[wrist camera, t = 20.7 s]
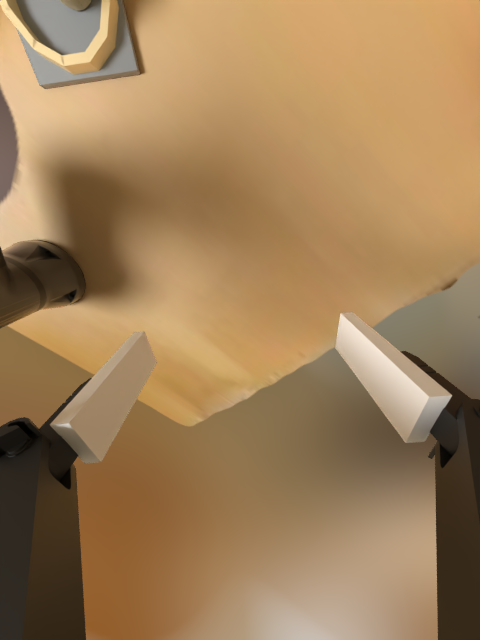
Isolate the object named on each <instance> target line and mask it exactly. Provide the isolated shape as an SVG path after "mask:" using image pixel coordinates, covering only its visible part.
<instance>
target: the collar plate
mask: <svg viewBox="0 0 480 640" xmlns="http://www.w3.org/2000/svg"><path fill="white" fill-rule="evenodd" d="M0 5H1V7H2V9H3V12H4V13H5V14H6V15H7V17H8V18H9V19H10V20H11V22H12V23H13V24H14V25H15V27H16V29H17V31H18V34H19V36H20V38H21V41H22V43H23V46H24V48H25V51H26V53H27V56H28V58H29V61H30V63H31V65H32V68H33V70H34V73H35V75H36V78H37V80H38V83H39V85H40V86H42V87H43V88H45V89H48V88H54V87H61V86H67V85H74V84H80V83H87V82H93V81H100V80H106V79H113V78H119V77H126V76H132V75H139V74H140V71H139V67H138V62H137V58H136V54H135V50H134V45H133V41H132V37H131V32H130V28H129V24H128V20H127V15H126V11H125V7H124V3H123V0H91V2H90V4H89V5H88V7H87V8H85V9H84V10H81V11H77V10H74V9H71V8H69V7H67V6H66V5H64V4H63V3H62V2H61V1H60V0H0Z"/></svg>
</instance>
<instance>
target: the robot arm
mask: <svg viewBox="0 0 480 640" xmlns="http://www.w3.org/2000/svg"><path fill="white" fill-rule="evenodd" d="M84 291H85V280H84V276H83V273H82V271H81V269H80V268H79V266H78V265H77V263H76V262H75V261H74V260H73V259H72V257H71V256H69V255H68V254H67V253H66V252H65V251H63V250H62V249H60V248H59V247H57V246H55V245H53V244H51V243H48V242H45V241H39V240H31V241H23V242H18V243H15V244H13V245H11V246H10V247H8V248H6V249H5V250H3V251H2V250H1V247H0V328H2V327H5V326H7V325H9V324H11V323H13V322H15V321H17V320H19V319H21V318H23V317H26V316H28V315H30V314H32V313H34V312H36V311H38V310H41V309H49V308H57V307H64V306H67V305H70V304H72V303H74V302H76V301H77V300H79V299H80V298H81V297H82V295H83V293H84ZM335 348H336V349H337V351H338V352H339V353H340V355H341V356H342V357H343V358H344V360H345V361H346V363H347V364H348V366H349V367H350V368H351V370H352V371H353V372H354V374H355V375H356V376H357V378H358V379H359V380H360V382H361V383H362V384H363V386H364V387H365V389H366V390H367V391H368V392H369V394H370V395H371V397H372V398H373V399H374V401H375V402H376V403H377V405H378V406H379V407H380V409H381V410H382V411H383V413H384V414H385V415H386V417H387V418H388V420H389V421H390V422H391V423H392V425H393V426H394V428H395V429H396V430H397V432H398V433H399V435H400V436H401V437H402V439H403V440H404V441H405V443H410V442H425V440H426V439H427V437H428V435H429V433H431V434H432V435H433V436H434V437H435V438H436V440H437V443H436V444H435V446H434V447H433V449H432V450H431V452H430V454H429V456H428V457H429V458H431V459H432V458H433V456H434V455H435V476H436V477H435V479H436V537H437V539H436V543H437V604H438V605H437V606H438V640H480V400H478V399H471V398H469V397H468V396H467V395H465V394H464V393H463V392H462V391H460V390H459V389H458V388H457V387H455V386H454V385H453V384H451V383H450V382H449V381H448V380H446V379H445V378H444V377H442V376H441V375H440V374H439V373H436V371H435V370H433V369H432V368H431V367H428V365H427V364H426V363H424V362H423V361H422V360H421V359H420V358H418V357H416V356H414V355H412V354H410V353H408V352H406V351H402V352H400V351H399V350H397V349H396V348H395V347H394V346H392V345H391V344H390V343H389V342H388V341H387V340H385V339H384V338H383V337H382V336H380V335H379V334H378V333H377V332H376V331H375V330H374V329H372V328H371V327H370V326H369V325H368V324H366V323H365V322H364V321H363V320H362V319H360V318H359V317H358V316H357V315H356V314H354V313H353V312H347V313H341V314H340V320H339V326H338V332H337V339H336V345H335ZM156 363H157V361H156V359H155V356H154V354H153V351H152V349H151V346H150V344H149V341H148V339H147V336H146V334H145V331H143V332H134V333H133V334H132V335H131V336H130V337H129V338H128V339H127V340H126V341H125V342H124V344H123V345H122V346H121V347H120V348H119V349H118V350H117V351H116V352H115V353H114V355H113V356H112V357H111V358H110V359H109V360H108V361H107V362H106V363H105V364H104V366H103V367H102V368H101V369H100V370H99V371H98V372H97V373H96V374H95V375H94V377H93V378H90V379H88V380H87V381H86V382H84V383H83V384H81V385H80V386H79V387H78V388H77V389H76V390H75V391H74V393H73V394H72V396H70V397H69V398H68V399H67V400H66V402H65V403H63V404H62V405H61V406H60V407H59V408H58V410H57V411H56V412H55V413H54V414H53V415H52V416H51V417H50V418H49V419H48V420H47V421H46V422H45V423H44V424H43V426H42V427H41V428H40V429H38V428H37V427H36V425H35V424H34V423H33V422H32V421H31V420H30V419H28V418H25V417H24V418H18V419H15V420H13V421H10V422H8V423H6V424H4V425H2V426H1V427H0V640H86V633H85V615H84V598H83V582H82V566H81V548H80V532H79V516H78V515H79V514H78V497H77V480H76V468H75V466H74V465H73V462H74V461H75V459H76V458H77V456H79V457H80V459H81V460H82V461H83V462H84V463H94V462H101V461H102V459H103V458H104V456H105V454H106V452H107V450H108V449H109V447H110V445H111V443H112V442H113V440H114V438H115V436H116V435H117V433H118V431H119V429H120V427H121V426H122V424H123V422H124V420H125V418H126V417H127V415H128V413H129V411H130V410H131V408H132V406H133V404H134V402H135V401H136V399H137V397H138V395H139V394H140V392H141V390H142V388H143V387H144V385H145V383H146V381H147V379H148V378H149V376H150V374H151V372H152V371H153V369H154V367H155V365H156Z"/></svg>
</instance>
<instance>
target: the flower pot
mask: <svg viewBox="0 0 480 640" xmlns="http://www.w3.org/2000/svg"><path fill="white" fill-rule="evenodd" d="M60 1H61V2H62V3H63V4H64V5H66V6H67V7H69V8H71V9H74V10H77V11H81V10H84V9H85V8H87V7H88V5H89V4H90V2H91V0H60Z"/></svg>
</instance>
